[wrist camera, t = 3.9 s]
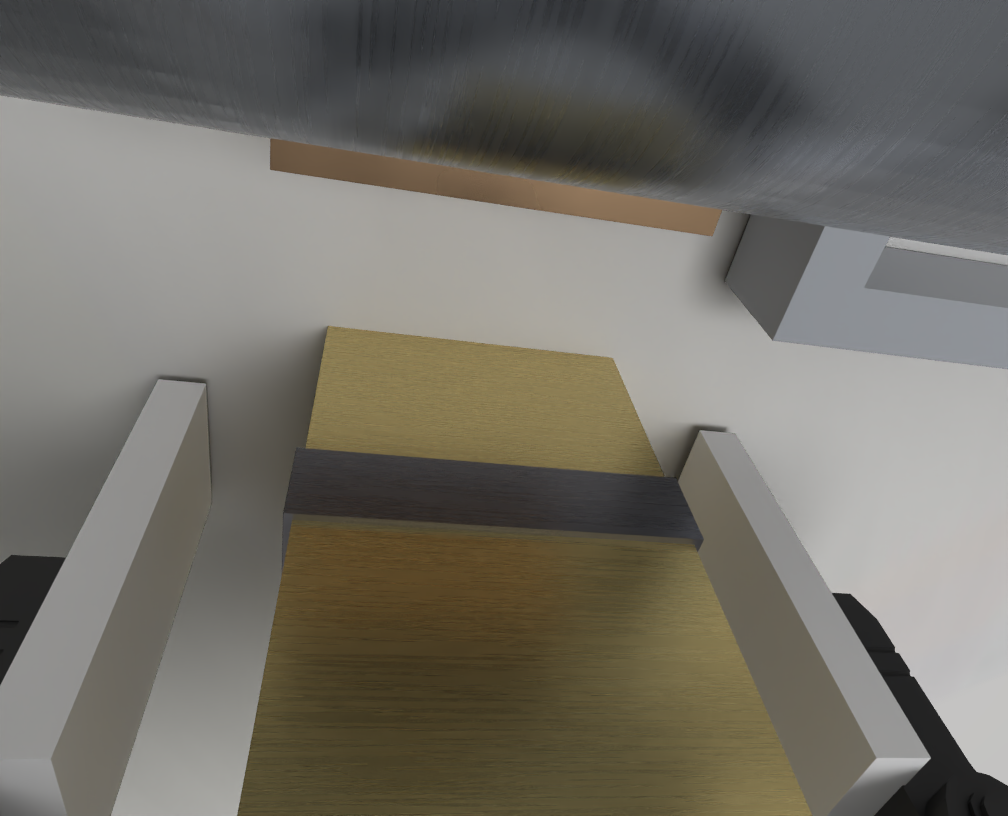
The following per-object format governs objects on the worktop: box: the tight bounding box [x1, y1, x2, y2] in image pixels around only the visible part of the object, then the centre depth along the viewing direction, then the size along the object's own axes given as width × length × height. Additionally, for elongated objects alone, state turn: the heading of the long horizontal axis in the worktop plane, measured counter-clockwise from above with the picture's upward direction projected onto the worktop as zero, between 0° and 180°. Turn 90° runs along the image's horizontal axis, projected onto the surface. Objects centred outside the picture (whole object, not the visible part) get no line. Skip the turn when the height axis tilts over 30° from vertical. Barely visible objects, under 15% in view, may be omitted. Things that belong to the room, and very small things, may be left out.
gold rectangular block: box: [237, 326, 812, 816], centre depth 11 cm, size 5×5×8 cm
